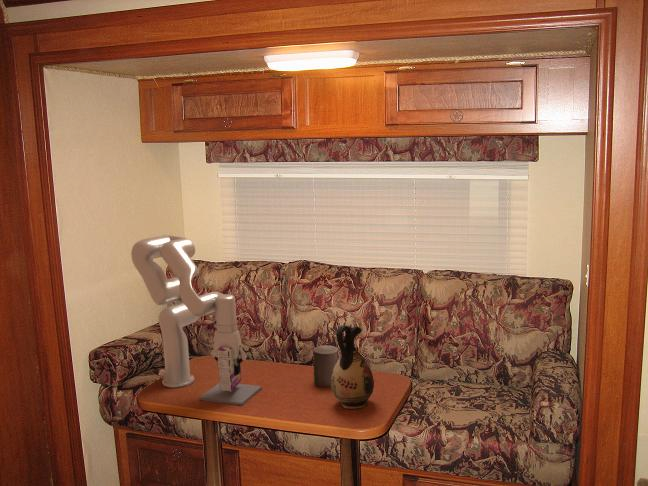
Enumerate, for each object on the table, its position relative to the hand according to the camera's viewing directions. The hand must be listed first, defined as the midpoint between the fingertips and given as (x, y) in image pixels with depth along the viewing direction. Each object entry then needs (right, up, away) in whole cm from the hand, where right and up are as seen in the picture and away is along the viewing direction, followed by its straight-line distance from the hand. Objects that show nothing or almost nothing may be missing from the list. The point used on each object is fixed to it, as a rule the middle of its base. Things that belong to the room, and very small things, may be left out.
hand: (230, 373), depth 232 cm
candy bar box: (0, -5, +1) cm, 5 cm away
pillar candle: (+37, -6, +10) cm, 38 cm away
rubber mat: (0, -8, +1) cm, 8 cm away
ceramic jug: (+46, -9, -11) cm, 48 cm away
